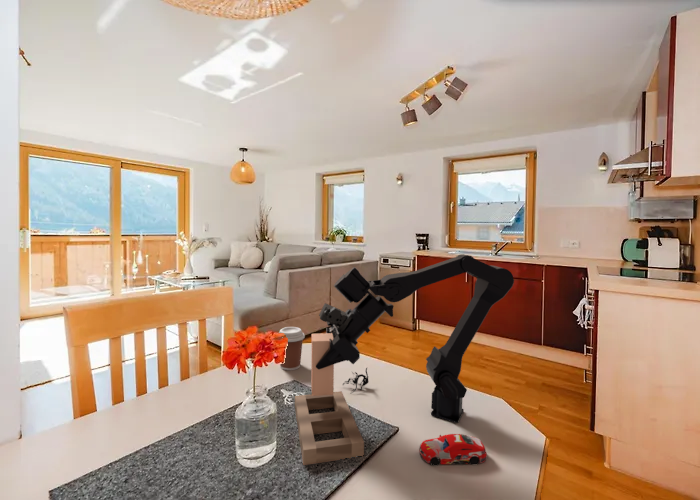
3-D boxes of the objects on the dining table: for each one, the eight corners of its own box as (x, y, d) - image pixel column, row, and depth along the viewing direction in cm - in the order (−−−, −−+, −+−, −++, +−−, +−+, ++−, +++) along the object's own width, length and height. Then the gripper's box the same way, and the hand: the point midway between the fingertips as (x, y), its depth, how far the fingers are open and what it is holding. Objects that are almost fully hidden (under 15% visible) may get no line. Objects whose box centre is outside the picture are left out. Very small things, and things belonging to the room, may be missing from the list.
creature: (343, 398, 92) (372, 392, 92) (339, 379, 92) (368, 373, 92) (343, 384, 100) (370, 379, 100) (340, 367, 99) (366, 362, 99)
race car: (422, 467, 65) (423, 447, 64) (416, 449, 70) (416, 430, 70) (490, 466, 65) (491, 447, 65) (478, 448, 70) (479, 430, 70)
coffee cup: (280, 374, 103) (281, 336, 103) (272, 363, 111) (272, 327, 110) (308, 368, 108) (309, 332, 107) (298, 358, 116) (299, 324, 115)
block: (331, 384, 83) (332, 333, 82) (333, 394, 78) (334, 340, 77) (311, 385, 82) (311, 333, 81) (311, 395, 78) (312, 341, 76)
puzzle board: (294, 407, 85) (294, 395, 84) (341, 402, 87) (341, 391, 87) (303, 465, 64) (303, 450, 64) (363, 456, 67) (364, 441, 67)
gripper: (335, 285, 88) (292, 328, 87) (345, 301, 70) (291, 355, 69) (364, 314, 90) (322, 356, 89) (381, 337, 72) (329, 390, 71)
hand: (316, 363), depth 79 cm, fingers closed on block, 5 cm apart
